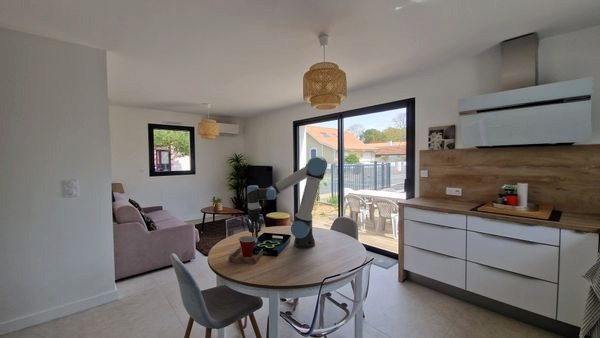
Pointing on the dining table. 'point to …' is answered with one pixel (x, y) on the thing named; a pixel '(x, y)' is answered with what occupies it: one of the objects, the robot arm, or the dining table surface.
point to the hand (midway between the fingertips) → (255, 242)
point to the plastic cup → (247, 245)
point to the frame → (244, 259)
